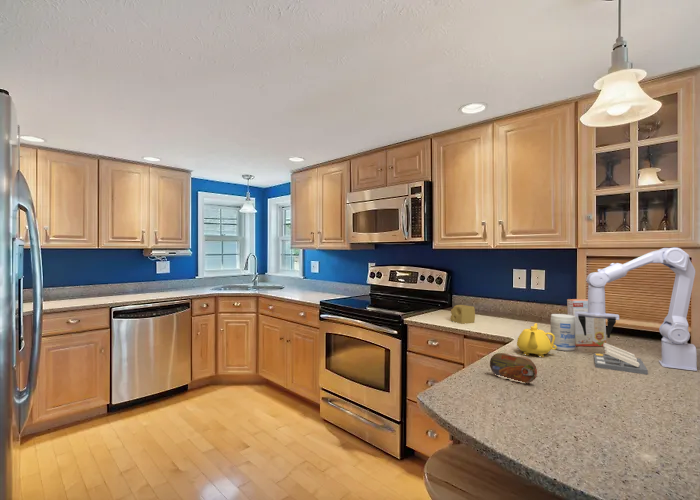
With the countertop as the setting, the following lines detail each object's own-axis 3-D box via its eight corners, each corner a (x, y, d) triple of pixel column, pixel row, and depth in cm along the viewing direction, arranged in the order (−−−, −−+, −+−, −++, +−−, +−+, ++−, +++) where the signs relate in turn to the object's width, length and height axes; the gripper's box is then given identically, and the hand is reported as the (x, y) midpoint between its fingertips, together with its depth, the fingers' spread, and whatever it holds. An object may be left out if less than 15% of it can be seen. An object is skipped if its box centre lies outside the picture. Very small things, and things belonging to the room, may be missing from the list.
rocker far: (632, 357, 140) (633, 354, 140) (633, 358, 138) (634, 355, 137) (602, 345, 145) (604, 342, 145) (603, 346, 143) (604, 343, 142)
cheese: (450, 321, 225) (450, 305, 225) (463, 320, 229) (463, 304, 229) (462, 324, 215) (461, 307, 215) (475, 322, 220) (475, 306, 220)
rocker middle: (634, 361, 135) (636, 358, 135) (635, 362, 133) (637, 359, 132) (604, 348, 140) (605, 345, 140) (604, 349, 138) (605, 347, 137)
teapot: (556, 363, 139) (556, 333, 139) (514, 357, 146) (513, 329, 147) (557, 351, 156) (557, 324, 156) (519, 346, 164) (519, 321, 164)
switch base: (640, 362, 139) (640, 354, 139) (647, 374, 126) (647, 365, 126) (593, 356, 147) (593, 348, 147) (595, 367, 134) (595, 358, 134)
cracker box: (598, 343, 168) (598, 298, 168) (606, 347, 162) (606, 300, 162) (567, 343, 170) (566, 298, 170) (573, 346, 164) (573, 300, 164)
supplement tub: (563, 352, 154) (563, 317, 154) (545, 346, 163) (545, 314, 163) (581, 350, 157) (580, 316, 157) (562, 345, 166) (562, 313, 166)
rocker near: (637, 365, 130) (638, 362, 130) (638, 367, 128) (639, 364, 127) (605, 352, 135) (606, 349, 134) (605, 353, 133) (606, 350, 132)
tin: (489, 375, 125) (489, 351, 126) (494, 373, 128) (493, 349, 128) (534, 387, 114) (534, 360, 114) (538, 385, 116) (538, 358, 116)
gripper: (575, 302, 146) (575, 335, 145) (619, 304, 138) (620, 340, 138) (575, 300, 151) (575, 332, 151) (618, 302, 144) (618, 336, 144)
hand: (596, 336), depth 145 cm, fingers open, 7 cm apart
